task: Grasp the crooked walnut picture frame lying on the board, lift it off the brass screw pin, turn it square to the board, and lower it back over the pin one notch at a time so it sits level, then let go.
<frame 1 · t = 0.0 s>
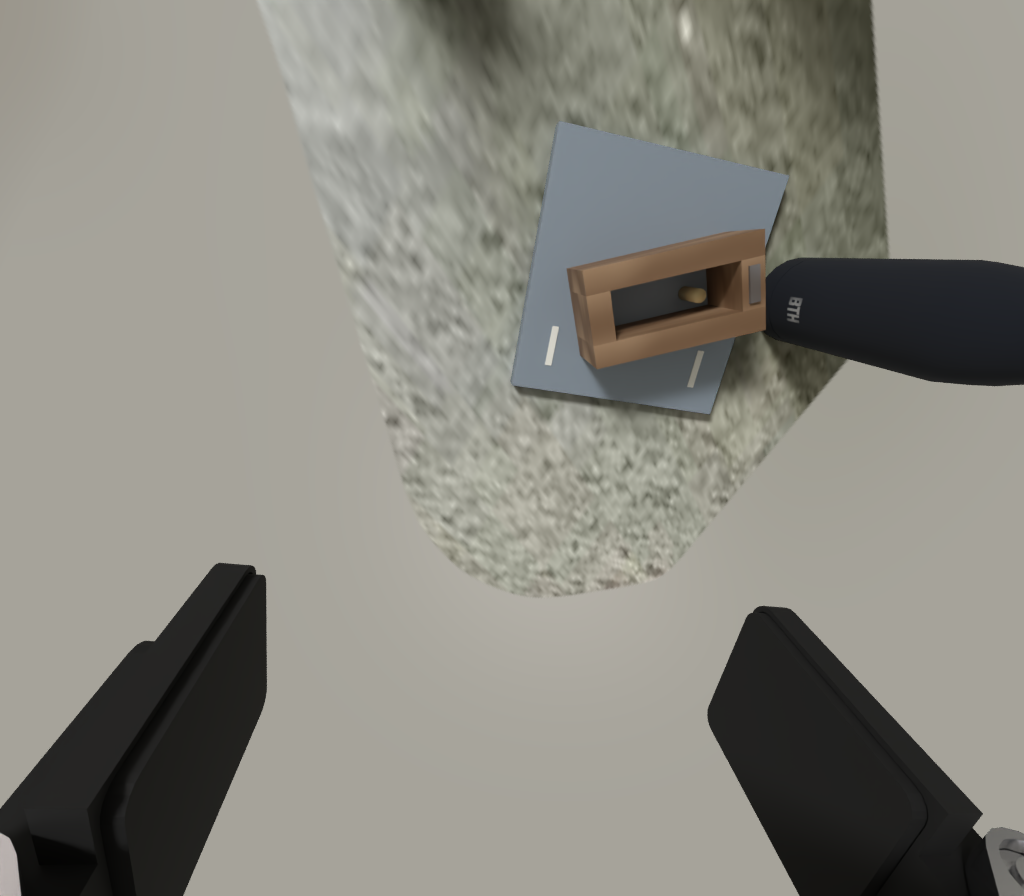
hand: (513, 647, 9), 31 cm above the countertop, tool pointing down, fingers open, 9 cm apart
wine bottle: (791, 300, 40), on the countertop
frame: (650, 295, 37), point 1 cm above the countertop, touching board
board: (638, 284, 38), on the countertop
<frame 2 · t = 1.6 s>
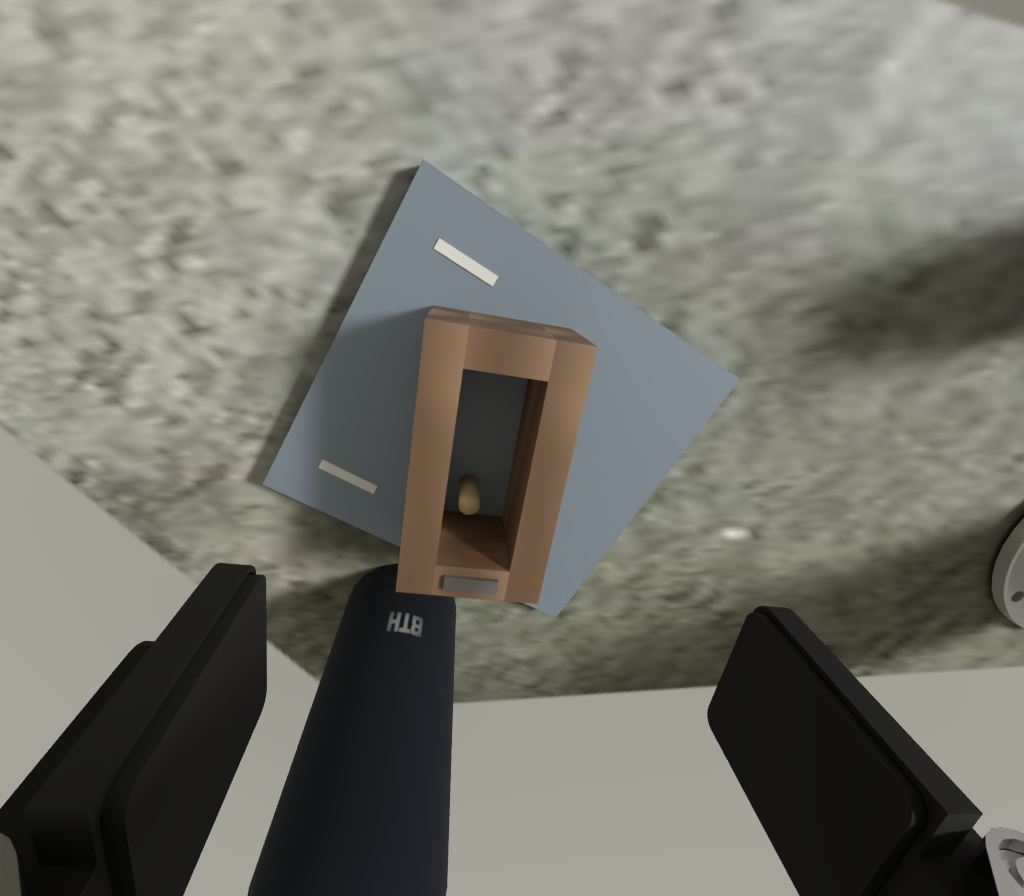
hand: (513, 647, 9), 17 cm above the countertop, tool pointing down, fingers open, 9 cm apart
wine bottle: (403, 605, 30), on the countertop
frame: (484, 437, 25), point 1 cm above the countertop, touching board
board: (500, 424, 26), on the countertop
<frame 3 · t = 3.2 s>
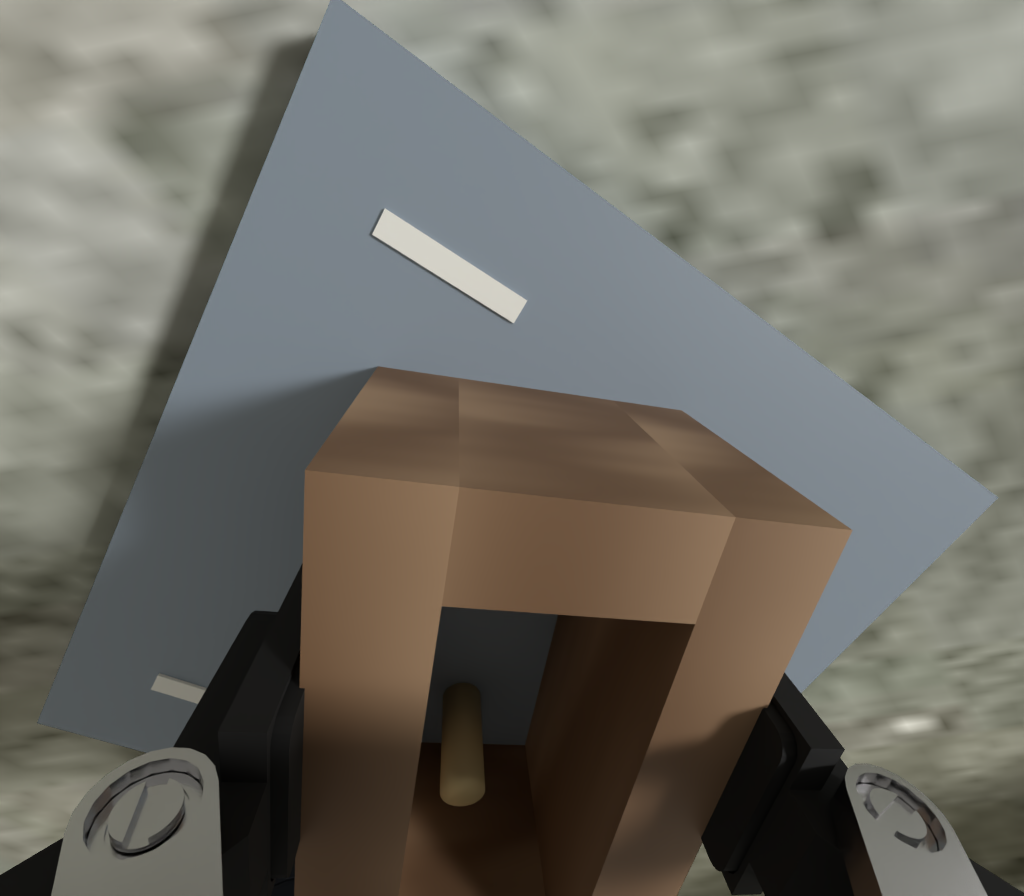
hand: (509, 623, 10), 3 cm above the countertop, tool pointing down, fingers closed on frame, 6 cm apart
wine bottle: (349, 856, 17), on the countertop
frame: (492, 619, 12), point 1 cm above the countertop, touching board, gripper
board: (521, 578, 13), on the countertop
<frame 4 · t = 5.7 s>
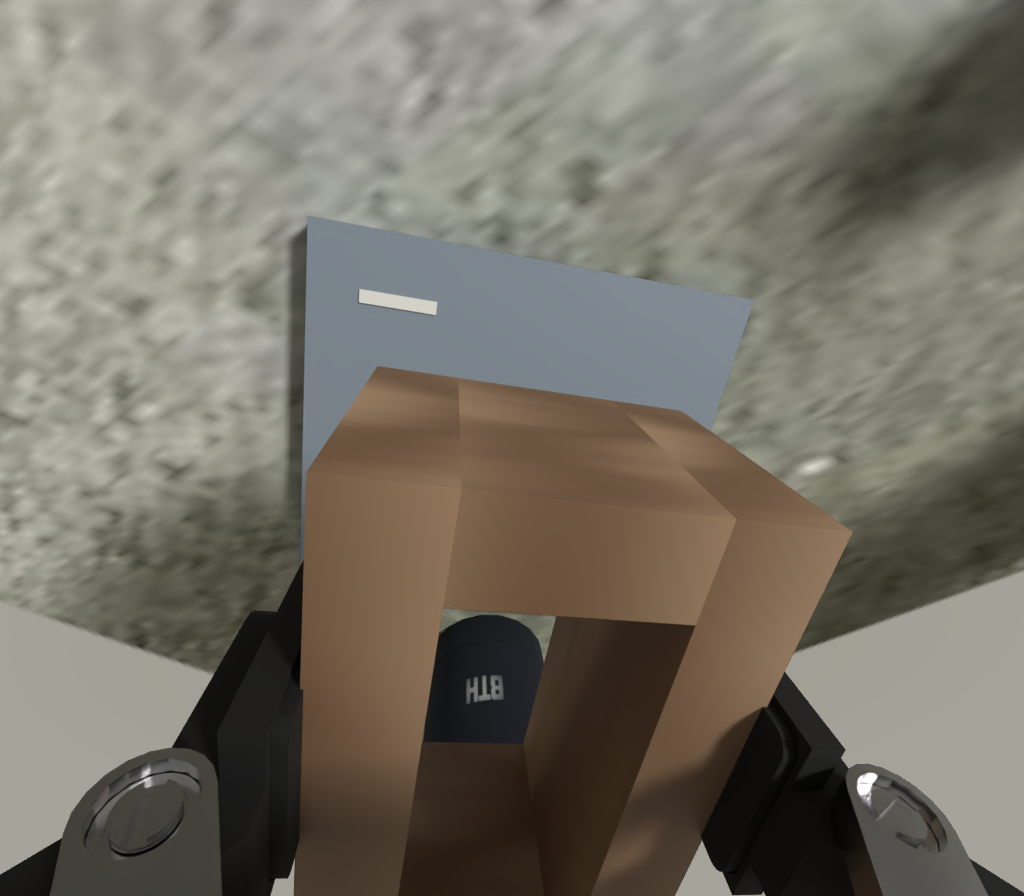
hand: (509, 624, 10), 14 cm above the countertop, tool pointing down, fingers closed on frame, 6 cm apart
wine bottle: (486, 656, 28), on the countertop
frame: (491, 619, 12), point 12 cm above the countertop, touching gripper
board: (507, 448, 23), on the countertop
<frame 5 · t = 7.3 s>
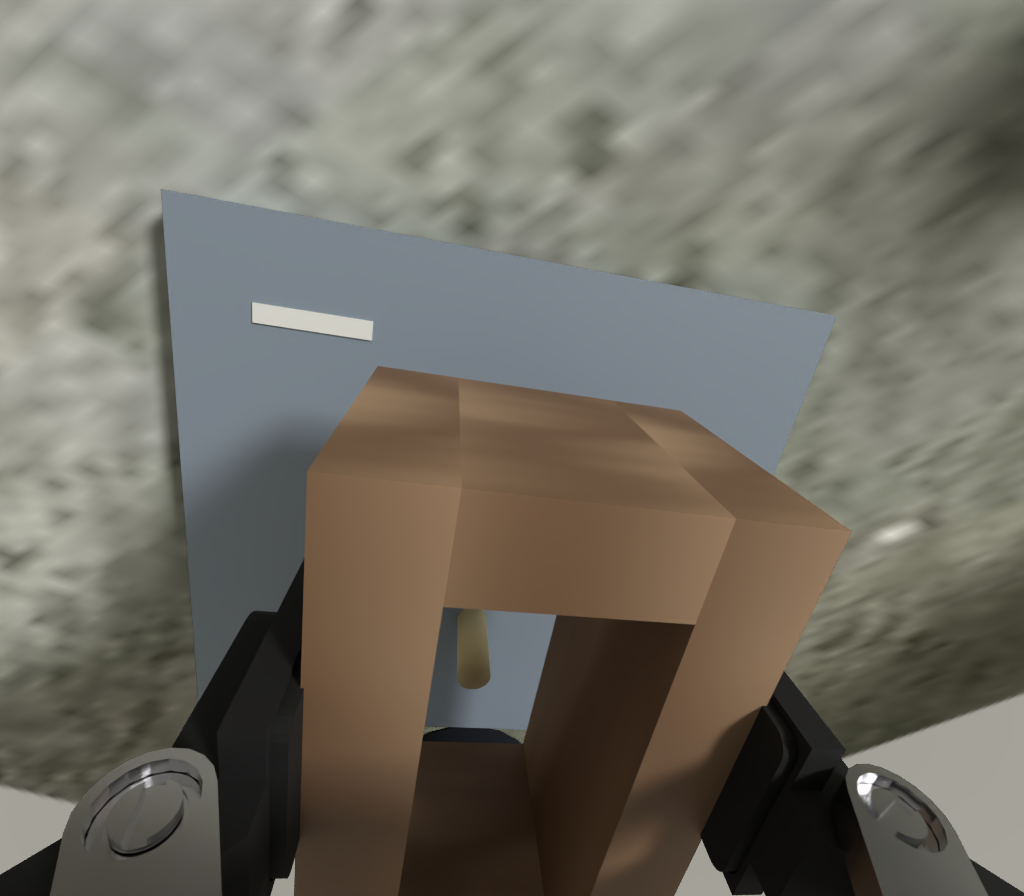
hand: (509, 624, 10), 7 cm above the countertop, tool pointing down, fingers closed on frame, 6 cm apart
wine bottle: (462, 772, 22), on the countertop
frame: (491, 618, 12), point 5 cm above the countertop, touching gripper
board: (484, 518, 17), on the countertop
when the fingers open (4 cm above the countertop, at t = 8.2 s): frame stays where it is, resting on board.
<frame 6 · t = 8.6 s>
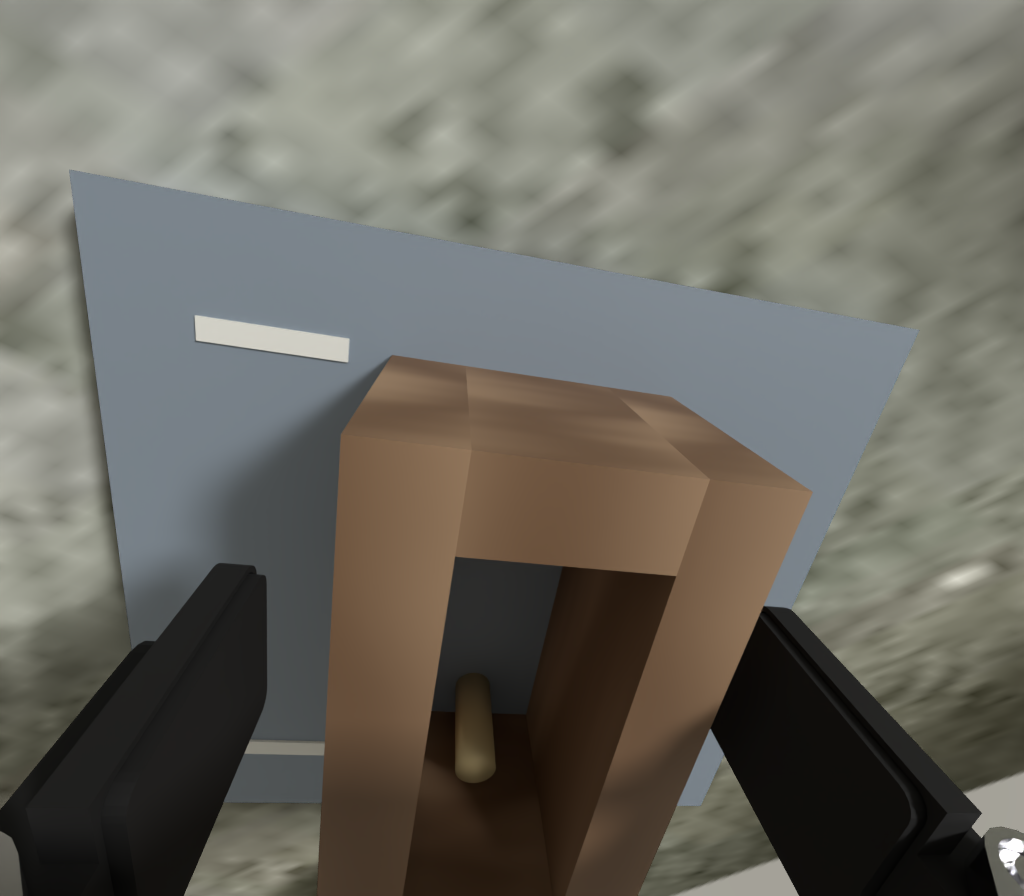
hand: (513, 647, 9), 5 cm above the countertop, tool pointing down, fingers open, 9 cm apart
frame: (495, 593, 13), point 1 cm above the countertop, touching board
board: (487, 567, 14), on the countertop
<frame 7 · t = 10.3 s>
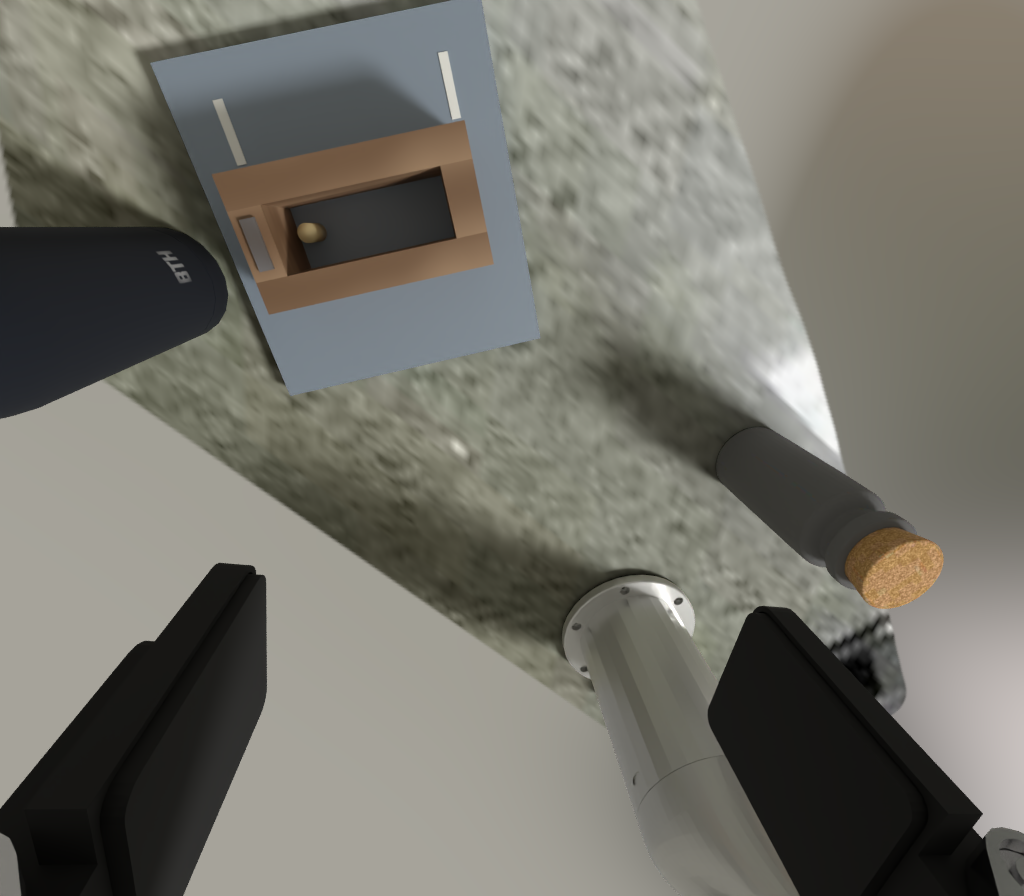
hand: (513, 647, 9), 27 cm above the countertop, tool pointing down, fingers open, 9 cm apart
bottle: (747, 457, 40), on the countertop
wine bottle: (173, 284, 30), on the countertop
frame: (374, 222, 29), point 1 cm above the countertop, touching board
board: (375, 220, 30), on the countertop
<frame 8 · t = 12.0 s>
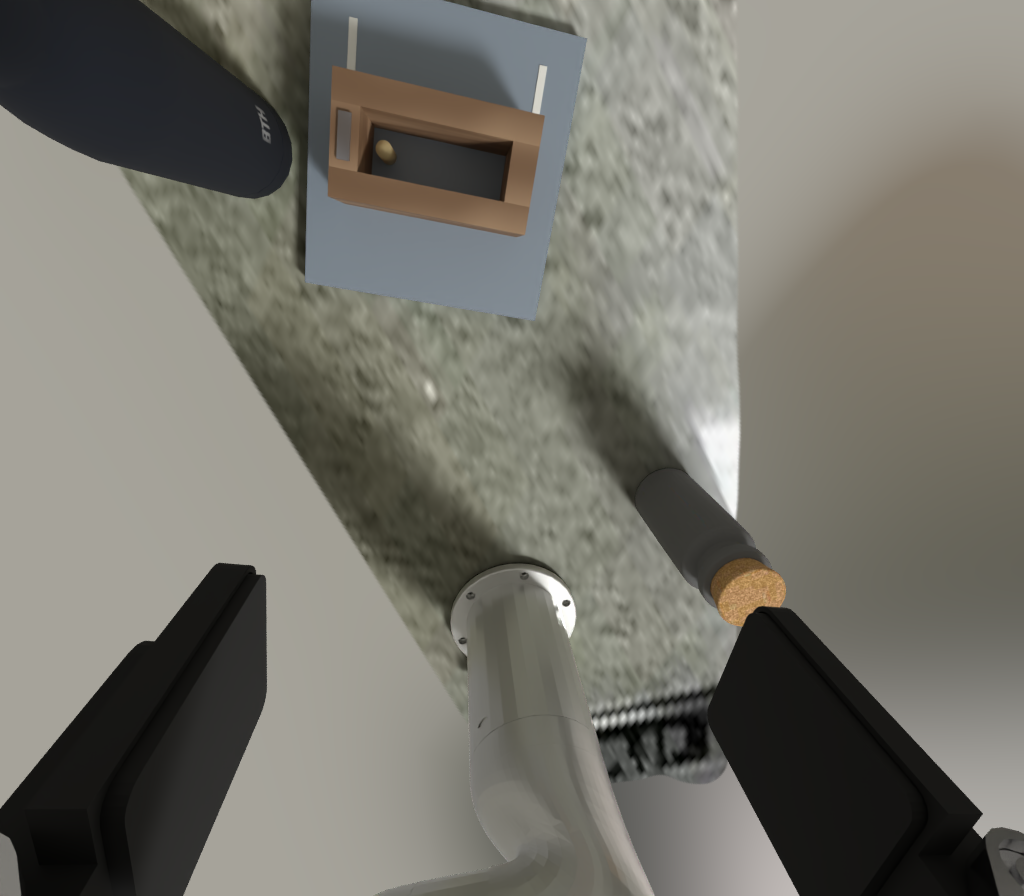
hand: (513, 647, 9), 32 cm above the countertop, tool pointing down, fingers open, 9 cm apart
bottle: (663, 494, 46), on the countertop
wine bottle: (243, 146, 33), on the countertop
frame: (438, 169, 33), point 1 cm above the countertop, touching board
board: (438, 169, 34), on the countertop
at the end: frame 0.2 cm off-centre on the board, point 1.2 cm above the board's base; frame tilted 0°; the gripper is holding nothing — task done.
